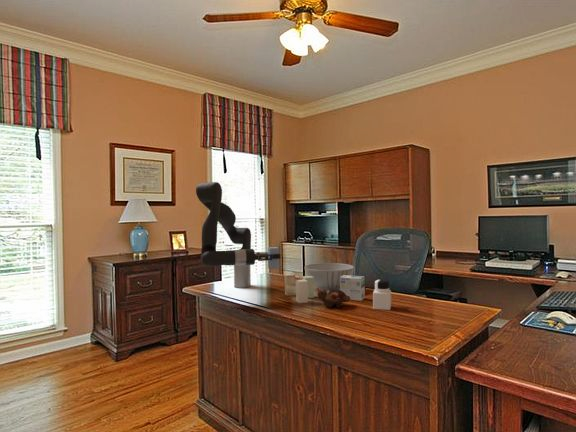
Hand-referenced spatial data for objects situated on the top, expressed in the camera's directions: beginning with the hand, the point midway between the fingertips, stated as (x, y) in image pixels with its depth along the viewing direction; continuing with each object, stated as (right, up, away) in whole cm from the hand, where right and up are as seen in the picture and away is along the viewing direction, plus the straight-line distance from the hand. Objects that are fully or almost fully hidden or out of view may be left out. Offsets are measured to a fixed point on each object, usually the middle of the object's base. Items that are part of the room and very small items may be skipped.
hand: (278, 255), depth 181 cm
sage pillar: (+15, -21, +2) cm, 25 cm away
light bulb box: (+36, -21, -2) cm, 41 cm away
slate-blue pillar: (-3, -6, -1) cm, 7 cm away
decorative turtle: (+25, -21, -15) cm, 36 cm away
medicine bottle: (+46, -21, -19) cm, 54 cm away
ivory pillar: (+11, -21, -7) cm, 25 cm away
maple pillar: (+6, -21, +8) cm, 23 cm away
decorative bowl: (+27, -20, +21) cm, 40 cm away
